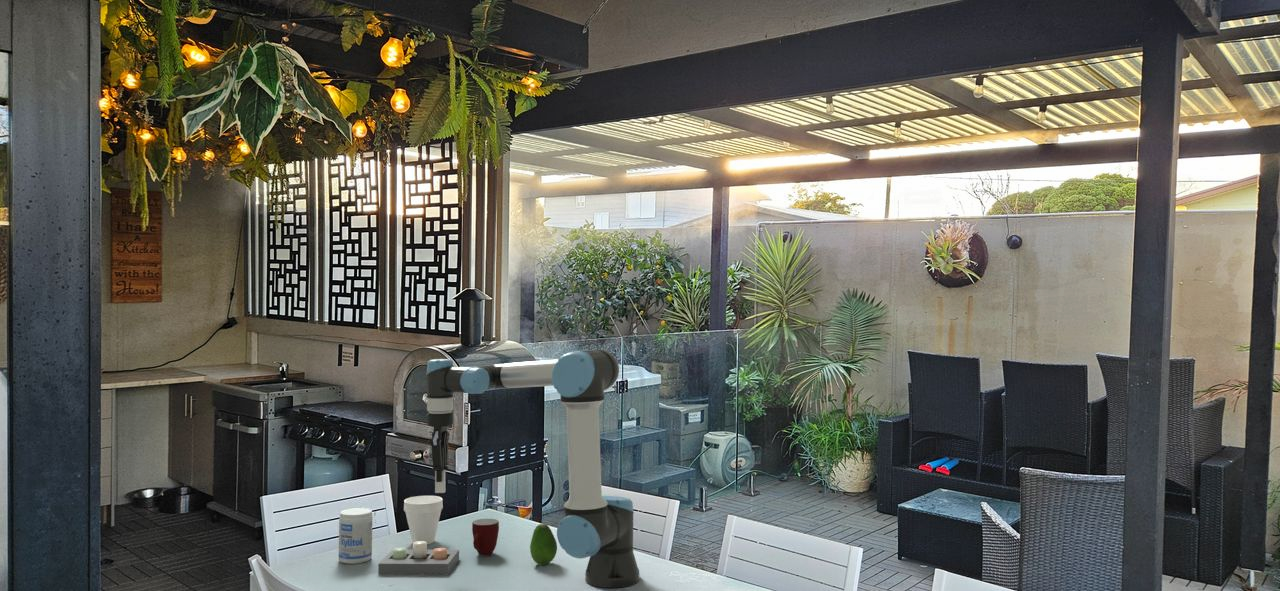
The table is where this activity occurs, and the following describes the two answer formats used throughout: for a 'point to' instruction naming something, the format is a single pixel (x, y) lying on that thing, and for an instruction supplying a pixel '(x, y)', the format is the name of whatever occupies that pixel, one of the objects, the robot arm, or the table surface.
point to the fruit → (543, 545)
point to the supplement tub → (355, 535)
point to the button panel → (418, 564)
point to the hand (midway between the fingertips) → (440, 492)
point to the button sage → (400, 553)
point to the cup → (423, 517)
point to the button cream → (420, 549)
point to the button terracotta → (440, 553)
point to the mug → (485, 535)
